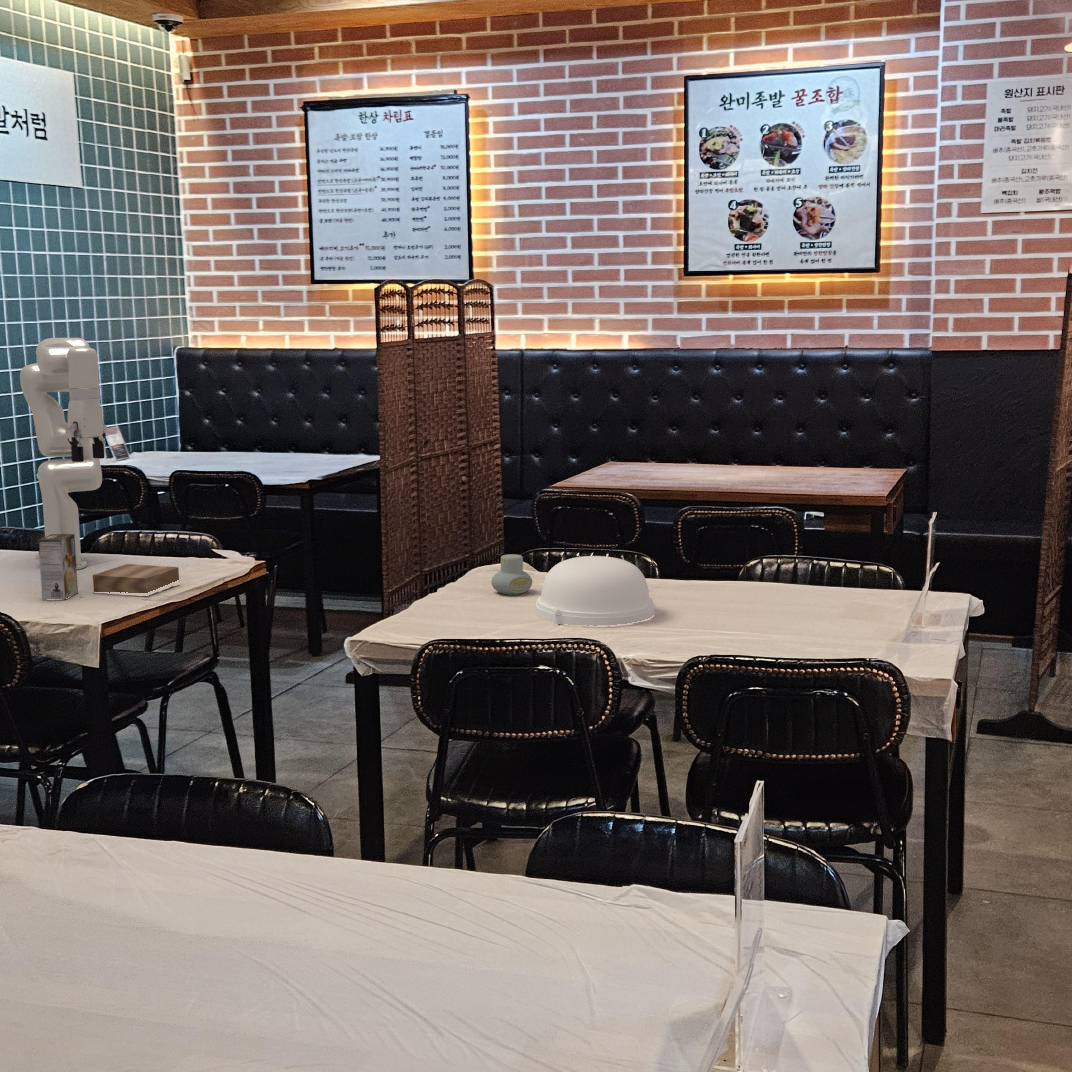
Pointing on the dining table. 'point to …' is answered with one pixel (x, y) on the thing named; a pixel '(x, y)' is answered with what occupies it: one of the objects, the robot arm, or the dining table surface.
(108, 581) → the walnut base
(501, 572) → the air freshener
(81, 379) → the robot arm
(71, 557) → the coffee box
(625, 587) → the dome cover
